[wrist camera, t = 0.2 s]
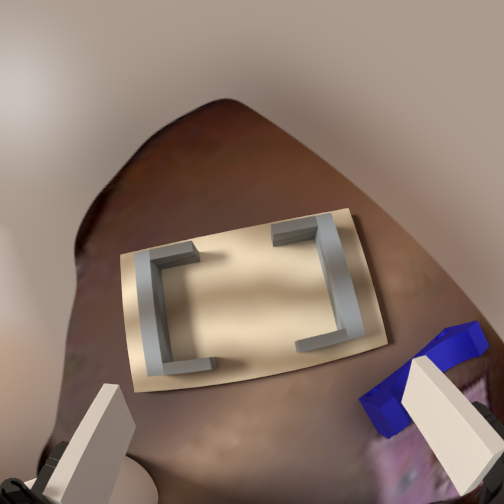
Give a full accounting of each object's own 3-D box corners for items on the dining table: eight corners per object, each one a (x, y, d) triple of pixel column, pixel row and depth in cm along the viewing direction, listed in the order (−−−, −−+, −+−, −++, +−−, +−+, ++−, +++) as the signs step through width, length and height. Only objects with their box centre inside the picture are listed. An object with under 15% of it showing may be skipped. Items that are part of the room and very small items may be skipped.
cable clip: (377, 431, 23) (401, 447, 17) (357, 398, 24) (379, 408, 18) (460, 360, 24) (494, 358, 18) (444, 328, 25) (477, 320, 20)
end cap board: (382, 344, 25) (401, 342, 21) (141, 390, 25) (120, 395, 21) (345, 214, 30) (355, 193, 26) (126, 259, 30) (106, 244, 26)
